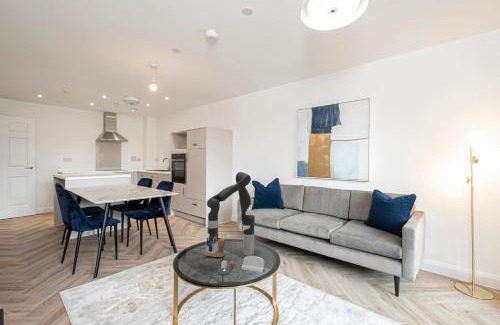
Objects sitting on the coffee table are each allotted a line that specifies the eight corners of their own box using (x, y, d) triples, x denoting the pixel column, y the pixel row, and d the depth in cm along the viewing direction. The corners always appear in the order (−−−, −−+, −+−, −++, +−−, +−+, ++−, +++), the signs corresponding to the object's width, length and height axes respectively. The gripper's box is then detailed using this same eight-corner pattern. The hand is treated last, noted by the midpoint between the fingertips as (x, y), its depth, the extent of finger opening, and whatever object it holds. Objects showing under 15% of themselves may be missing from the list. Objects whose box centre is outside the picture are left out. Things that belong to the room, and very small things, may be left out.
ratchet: (226, 275, 161) (227, 263, 162) (217, 274, 164) (217, 262, 164) (236, 265, 179) (237, 254, 180) (228, 264, 182) (228, 253, 182)
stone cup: (226, 254, 204) (227, 236, 205) (222, 259, 192) (222, 240, 193) (210, 252, 207) (210, 235, 208) (204, 257, 195) (205, 239, 196)
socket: (214, 253, 167) (214, 243, 168) (206, 252, 169) (206, 242, 169) (218, 250, 173) (218, 241, 173) (210, 249, 175) (210, 240, 175)
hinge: (240, 269, 173) (242, 254, 177) (243, 269, 177) (244, 254, 181) (263, 272, 167) (264, 257, 171) (264, 272, 172) (266, 257, 175)
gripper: (213, 229, 164) (212, 254, 163) (221, 224, 177) (221, 247, 177) (203, 228, 166) (202, 252, 166) (212, 224, 180) (212, 246, 179)
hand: (212, 250), depth 171 cm, fingers closed on socket, 6 cm apart
